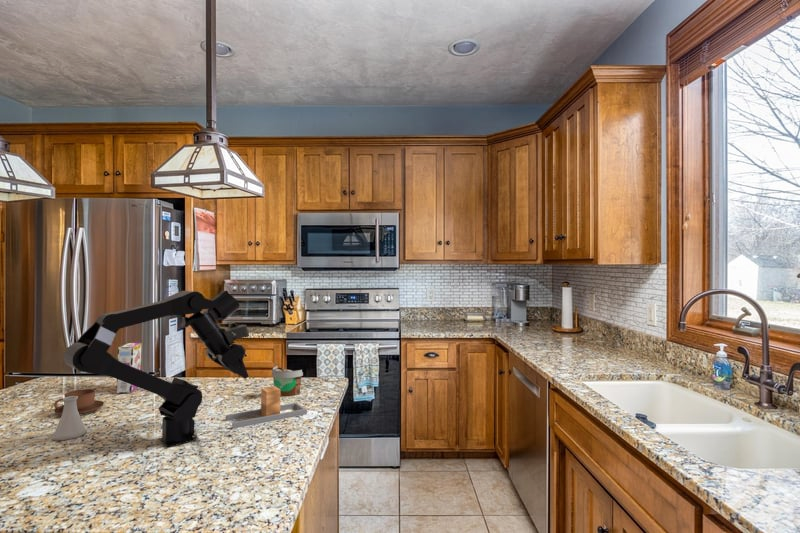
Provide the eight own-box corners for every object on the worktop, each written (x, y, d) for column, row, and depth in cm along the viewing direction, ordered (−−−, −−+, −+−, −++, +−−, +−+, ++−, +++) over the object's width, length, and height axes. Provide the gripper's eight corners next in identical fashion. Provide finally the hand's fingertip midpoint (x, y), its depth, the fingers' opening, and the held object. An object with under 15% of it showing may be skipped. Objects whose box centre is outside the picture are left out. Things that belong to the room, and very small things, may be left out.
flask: (45, 442, 105) (46, 402, 105) (60, 432, 112) (61, 394, 112) (79, 439, 107) (79, 400, 107) (91, 429, 114) (92, 392, 114)
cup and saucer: (72, 421, 120) (72, 400, 120) (44, 416, 124) (45, 395, 124) (112, 408, 131) (113, 389, 132) (86, 404, 135) (86, 385, 135)
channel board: (233, 434, 111) (233, 423, 111) (225, 424, 118) (225, 414, 119) (307, 419, 123) (307, 409, 123) (296, 411, 131) (296, 402, 131)
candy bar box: (132, 393, 148) (133, 347, 148) (115, 394, 146) (116, 347, 147) (141, 385, 158) (142, 342, 159) (126, 386, 157) (127, 342, 157)
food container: (262, 398, 144) (263, 369, 144) (275, 393, 149) (276, 365, 149) (290, 403, 138) (290, 373, 138) (302, 398, 143) (303, 369, 144)
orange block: (266, 420, 118) (266, 391, 118) (260, 415, 122) (261, 387, 122) (280, 417, 121) (280, 389, 121) (274, 412, 125) (274, 385, 125)
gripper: (244, 314, 110) (277, 360, 114) (225, 312, 125) (254, 353, 129) (206, 341, 104) (242, 388, 108) (191, 335, 119) (223, 377, 123)
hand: (241, 375), depth 117 cm, fingers open, 9 cm apart
